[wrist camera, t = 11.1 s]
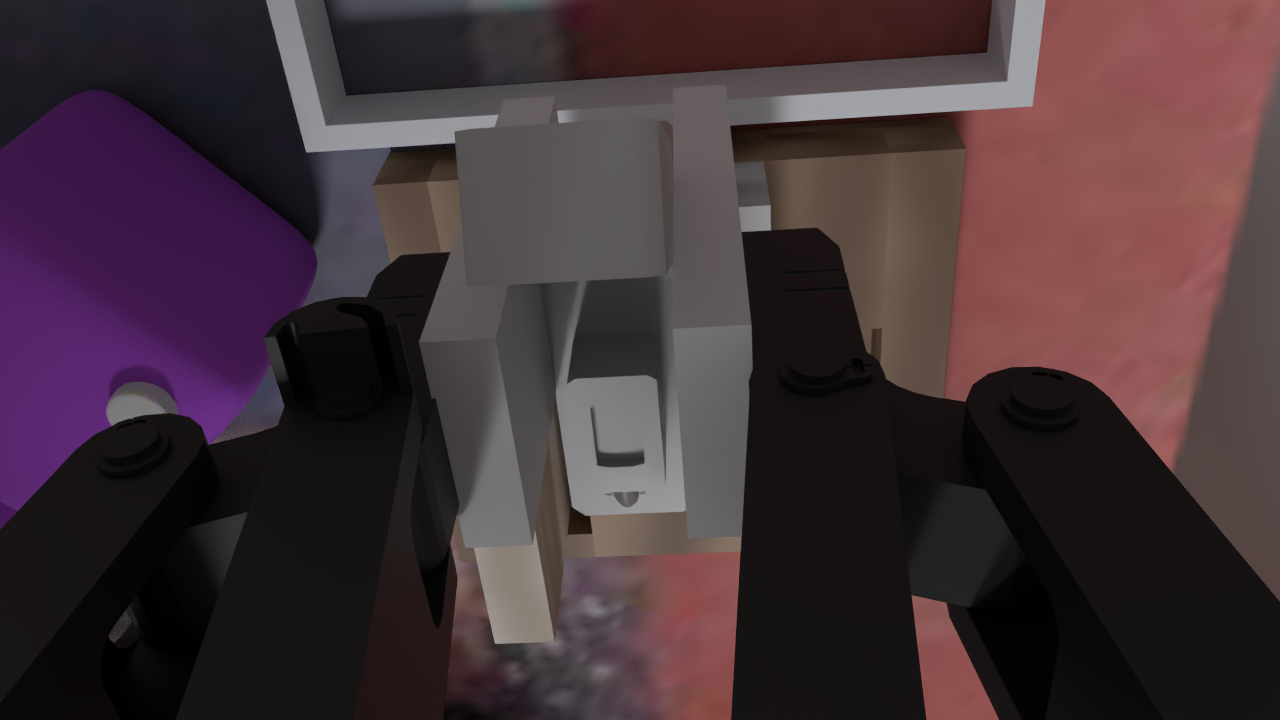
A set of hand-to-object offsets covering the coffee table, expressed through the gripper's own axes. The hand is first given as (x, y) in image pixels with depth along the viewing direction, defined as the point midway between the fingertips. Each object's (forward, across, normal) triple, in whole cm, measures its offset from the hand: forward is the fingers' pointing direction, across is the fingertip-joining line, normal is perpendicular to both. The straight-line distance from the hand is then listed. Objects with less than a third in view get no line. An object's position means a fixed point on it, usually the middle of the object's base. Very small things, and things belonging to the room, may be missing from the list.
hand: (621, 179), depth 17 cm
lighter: (+1, 0, 0) cm, 1 cm away
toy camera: (+19, -19, -11) cm, 29 cm away
